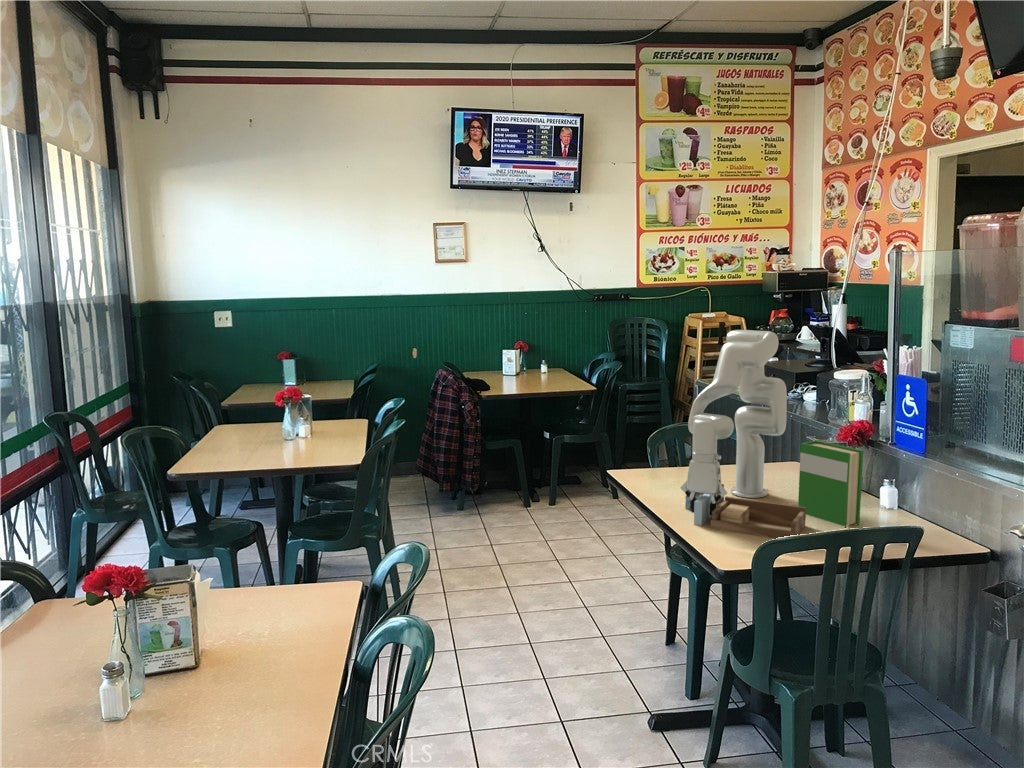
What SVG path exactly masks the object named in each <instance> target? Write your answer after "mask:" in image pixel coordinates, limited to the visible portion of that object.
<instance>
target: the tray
mask: <svg viewBox="0 0 1024 768" xmlns="http://www.w3.org/2000/svg"><path fill="white" fill-rule="evenodd" d="M730 504H736V505H743V506H750V507H749V521H748V522H747V523H746V524H740V523H734V522H727V521H720V519H721V512H722V511H723V510H724V509H726V508H727V507H728V506H729V505H730ZM806 516H807V515H806V507H801V506H798V505H793V504H787V503H786V504H785V503H777V502H769V501H761V500H755V499H750V498H749V499H746V498H743V497H740V498H739V497H735V496H734V497H733V496H727V495H725V496H724V501H723V502H720V503H719V504H718V505H717V506H716V509H714V510H713V511H712V516H711V519H710V529H713V530H719V531H720V530H721V531H725V532H731V533H732V532H733V533H738V534H744V535H745V534H747V535H752V536H756V537H764V538H771V539H776V538H778V537H784V536H790V535H797V534H799V535H800V534H801V532H802V531H803V529H804V528H805V527H806Z"/></svg>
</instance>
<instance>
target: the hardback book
mask: <svg viewBox="0 0 1024 768" xmlns="http://www.w3.org/2000/svg"><path fill="white" fill-rule="evenodd" d="M863 462H864V450H863V449H859V448H858V449H857V448H854V447H853V448H852V447H849V446H843V445H839V444H835V443H830V442H825V441H821V440H810V441H805V442H801V443H800V455H799V477H798V478H799V479H798V501H797V503H798V505H797V506H801V507H806V516H809V517H810V516H811V517H813V518H817V519H821V520H823V521H827V522H830V523H833V524H836V525H840V526H843V527H844V528H846V529H847V526H849V525H854V524H857V525H856V526H860V519H861V503H862V502H861V501H862V484H863V483H862V482H863V481H862V480H863V465H864V463H863ZM844 528H843V529H844Z"/></svg>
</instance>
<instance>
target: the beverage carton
mask: <svg viewBox="0 0 1024 768" xmlns="http://www.w3.org/2000/svg"><path fill="white" fill-rule="evenodd" d="M721 485H722V486H723V487H724V488H725V484H724V483H721ZM703 494H704V493H698V492H697V494H696V499H698V498H699V497H701V496H702V495H703ZM719 494H721V492H720V491H718V492H717V496H718V495H719ZM723 501H725V496H723V497H722V498H721V499H719V500H718V501H717V502H716V506H718V505H719V504H721V503H722V502H723ZM684 508H685V510H687V511H692V509H690V500H689V497H688V496H687V495H685V507H684Z"/></svg>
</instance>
